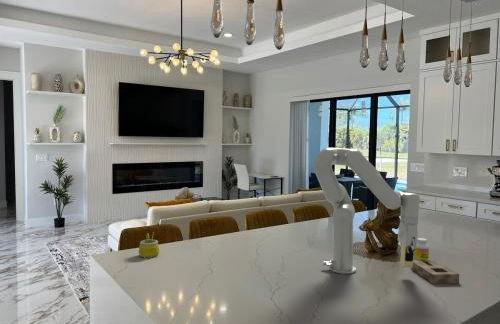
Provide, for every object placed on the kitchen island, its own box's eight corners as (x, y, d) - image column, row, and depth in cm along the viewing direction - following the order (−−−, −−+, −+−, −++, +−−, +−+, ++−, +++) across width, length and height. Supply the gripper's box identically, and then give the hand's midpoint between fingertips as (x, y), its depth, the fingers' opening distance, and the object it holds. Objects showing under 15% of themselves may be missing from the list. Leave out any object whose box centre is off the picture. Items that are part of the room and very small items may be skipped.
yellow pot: (154, 259, 200) (154, 236, 200) (135, 258, 202) (134, 235, 202) (164, 252, 213) (164, 231, 212) (146, 251, 215) (146, 230, 214)
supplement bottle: (420, 266, 190) (420, 241, 189) (411, 262, 196) (411, 237, 196) (431, 265, 192) (432, 240, 191) (422, 261, 198) (422, 237, 198)
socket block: (432, 283, 167) (432, 274, 166) (410, 268, 187) (410, 260, 186) (458, 283, 167) (459, 274, 167) (434, 268, 187) (434, 260, 187)
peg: (404, 267, 172) (405, 245, 172) (400, 264, 176) (401, 243, 176) (412, 267, 172) (413, 246, 172) (408, 264, 176) (409, 243, 176)
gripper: (393, 216, 181) (390, 253, 182) (409, 224, 164) (407, 265, 166) (408, 216, 182) (406, 254, 183) (426, 224, 165) (424, 265, 166)
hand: (406, 259), depth 174 cm, fingers closed on peg, 4 cm apart
